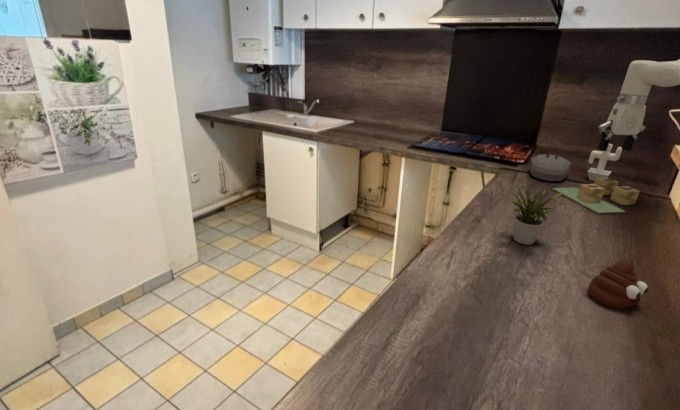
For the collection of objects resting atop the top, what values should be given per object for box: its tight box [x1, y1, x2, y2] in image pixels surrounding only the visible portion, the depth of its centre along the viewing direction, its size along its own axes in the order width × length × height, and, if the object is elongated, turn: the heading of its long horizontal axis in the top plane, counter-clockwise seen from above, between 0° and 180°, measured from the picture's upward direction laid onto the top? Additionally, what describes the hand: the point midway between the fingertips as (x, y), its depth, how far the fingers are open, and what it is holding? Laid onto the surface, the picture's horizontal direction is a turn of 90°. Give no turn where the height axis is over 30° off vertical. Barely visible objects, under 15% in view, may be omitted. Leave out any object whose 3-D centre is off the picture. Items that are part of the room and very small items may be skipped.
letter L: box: [593, 176, 619, 196], centre depth 131 cm, size 5×5×5 cm
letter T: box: [609, 185, 641, 206], centre depth 123 cm, size 5×5×5 cm
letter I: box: [577, 183, 605, 203], centre depth 123 cm, size 5×5×5 cm
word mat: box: [551, 186, 626, 215], centre depth 125 cm, size 10×22×1 cm, turn 8°
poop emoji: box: [588, 257, 649, 310], centre depth 73 cm, size 10×8×9 cm
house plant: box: [505, 180, 564, 246], centre depth 95 cm, size 14×14×16 cm
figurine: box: [587, 143, 623, 182], centre depth 142 cm, size 7×9×15 cm
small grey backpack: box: [529, 153, 572, 182], centre depth 148 cm, size 15×8×20 cm
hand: (613, 149), depth 126 cm, fingers open, 9 cm apart
